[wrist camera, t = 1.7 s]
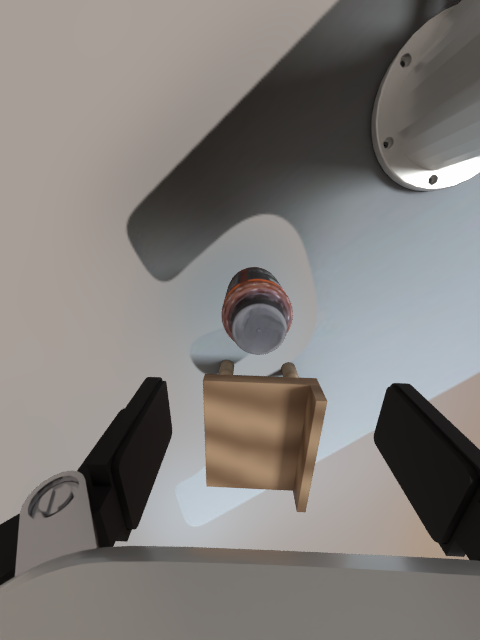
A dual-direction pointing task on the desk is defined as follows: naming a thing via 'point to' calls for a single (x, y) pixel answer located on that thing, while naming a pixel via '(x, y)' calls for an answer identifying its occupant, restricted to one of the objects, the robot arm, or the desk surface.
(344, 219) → the desk surface
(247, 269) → the supplement bottle
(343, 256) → the desk surface
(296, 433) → the peg shelf
